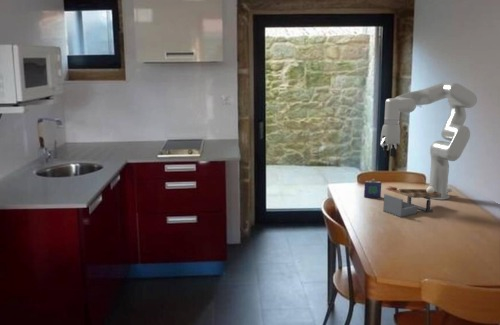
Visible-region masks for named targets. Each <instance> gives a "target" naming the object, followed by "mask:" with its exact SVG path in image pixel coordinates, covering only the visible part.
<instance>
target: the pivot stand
mask: <svg viewBox="0 0 500 325" xmlns="http://www.w3.org/2000/svg"><path fill="white" fill-rule="evenodd" d="M431 202H432V199H430V200H428V199H426V206H425V207H423V206H421V205H417V204H414V203H412V197H409V196H407V201H406V203H409V204H412V205H416V206H418V207H417V211H420V212H423V213H427V214H428V213H432V212H433V209H431V205H432V204H431Z"/></svg>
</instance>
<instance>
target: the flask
mask: <svg viewBox="0 0 500 325" xmlns="http://www.w3.org/2000/svg"><path fill="white" fill-rule="evenodd" d="M375 179H376V178H372V179H371V180H365V181H364V192H363V197H364V198H366V199H380V198H382V181H375Z"/></svg>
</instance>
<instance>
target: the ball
mask: <svg viewBox="0 0 500 325" xmlns="http://www.w3.org/2000/svg"><path fill="white" fill-rule="evenodd" d="M425 189H426V191H427V193H434V188H433V187H431V186H430V187H429V186H428V187H427V188H425Z"/></svg>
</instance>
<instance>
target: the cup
mask: <svg viewBox="0 0 500 325" xmlns="http://www.w3.org/2000/svg"><path fill="white" fill-rule="evenodd" d="M412 204H413V203H411V204H409V203H407V201H406V202H405V201H404V199H403V198H400V197H396V196H392V195H391V194H390V195H389V194H387V193H384V194H383V208H382V209H383V210H382V211H383V212H384V213H386V212H387V213H388V214H389V213H390V214H389V215H392V214H393V216H395V215H396V217H397V218H398V217H399V218H404V217H409V216H414V215H417V214H418V210H417V207H418V206H419V205H418V206H416V205H417V204H414V205H412Z"/></svg>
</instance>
